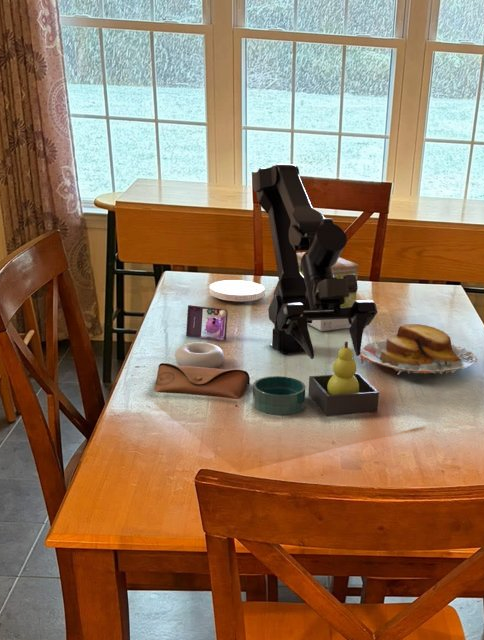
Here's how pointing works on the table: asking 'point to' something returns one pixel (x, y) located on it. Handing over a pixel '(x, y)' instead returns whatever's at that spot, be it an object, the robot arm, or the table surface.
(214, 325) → the purple toy box
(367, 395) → the bin
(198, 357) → the donut
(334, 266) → the tea box
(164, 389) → the sunglasses case
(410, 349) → the food on plate
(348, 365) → the pear
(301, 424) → the table surface
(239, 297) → the plastic lid
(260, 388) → the bowl
